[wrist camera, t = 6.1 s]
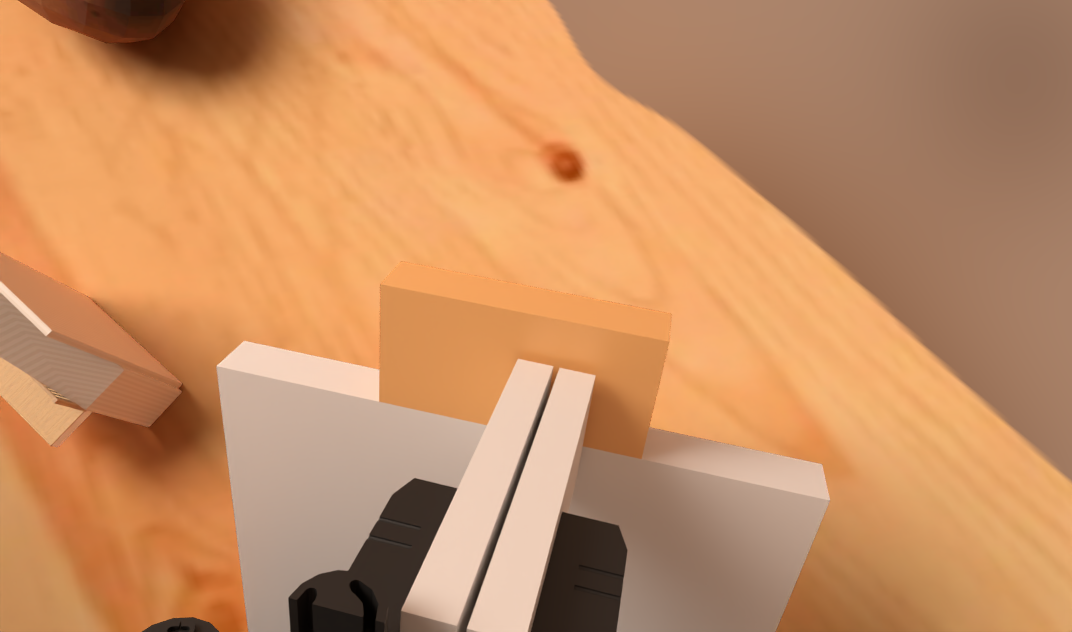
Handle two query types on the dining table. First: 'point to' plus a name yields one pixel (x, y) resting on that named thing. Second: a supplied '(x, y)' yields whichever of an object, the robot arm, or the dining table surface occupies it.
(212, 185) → the dining table surface
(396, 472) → the side door
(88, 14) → the potato
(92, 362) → the architectural model
